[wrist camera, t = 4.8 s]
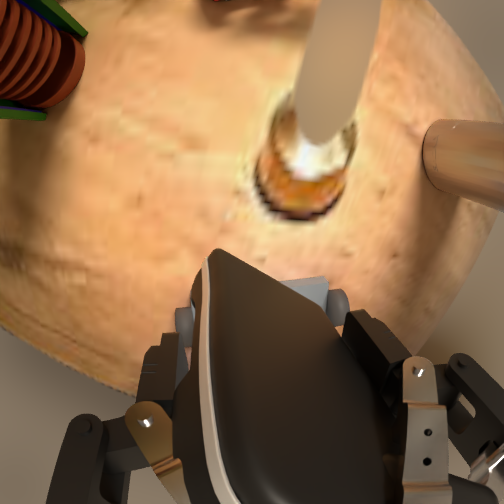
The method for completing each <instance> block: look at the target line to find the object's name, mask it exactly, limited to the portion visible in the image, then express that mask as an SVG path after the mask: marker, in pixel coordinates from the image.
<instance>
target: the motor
mask: <svg viewBox="0 0 504 504" xmlns="http://www.w3.org/2000/svg"><path fill="white" fill-rule="evenodd" d="M67 32H73V33H77V34H79V35H81V36H82V37H84V36H85V35H86V34H87V33H88V32H87V31H86V30H85V29H84V28H83V27H82V26H81V25H80V24H79V23H78V22H77V21H76V20H75V19H74V18H73V17H72V16H71V15H70V14H69V13H68V12H67V11H66V10H65V9H64V8H63V7H61V6H60V5H59V4H58V3H57V2H56V1H55V0H0V119H19V120H35V121H44V120H46V113H42V111H38V110H31V109H26V108H25V107H24V106H27V107H34V108H48V107H51V106H54V105H56V104H58V103H59V102H61V101H62V100H63V99H65V98H66V97H67V96H68V95H69V94H70V93H71V92H72V90H73V89H74V88H75V86H76V85H77V83H78V82H79V80H80V78H81V75H82V73H83V70H84V66H85V52H84V49H83V47H82V45H81V44H80V42H79V41H77V40H76V39H75V38H74V37H72V36H71V35H70V34H69V33H67ZM52 71H53V72H52Z"/></svg>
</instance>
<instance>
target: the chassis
mask: <svg viewBox="0 0 504 504" xmlns="http://www.w3.org/2000/svg"><path fill="white" fill-rule="evenodd" d="M280 283H282V284H284V285H285V286H287V287H289V288H291V289H292V290H294V291H296V292H298V293H299V294H301V295H303V296H304V297H306V298H308V299H310V300H311V301H313V302H315V303H316V304H318V305H319V306H320V307H321V308H322V309H323V311H324V312H325V314H326V315H327V317H328V318H329V320H330V321H331V323H332V324H333V326H334V327H336V326H341V325H344V322H345V316H346V313H347V312H350V307H349V301H348V298H347V296H346V294H345V292H344V291H343V290H342V289H334V290H328V287H329V282H328V281H327V280H326V278H325V277H324V276H320V277H313V278H305V279H297V280H288V281H280ZM190 299H191V294H190ZM191 306H192V307H183V308H176V310H175V325H176V332H181V335H182V339H183V344H184V347H192V339H193V329H194V321H195V308H194V307H193V305H192V302H191Z"/></svg>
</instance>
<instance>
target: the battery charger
mask: <svg viewBox="0 0 504 504" xmlns="http://www.w3.org/2000/svg"><path fill="white" fill-rule="evenodd" d="M191 302H192V305H193V307H194V308H195V321H194V329H193V339H192V352H191V367H190V370H189V371H188V373H187V374H186V375H185V377H184V378H183V379H182V380H181V382H180V383H179V385H178V386H177V388H176V390H175V392H174V395H173V412H172V446H173V458H174V459H176V458H179V459H180V460H181V462H182V467H183V477H184V483H185V486H186V490H187V493H188V496H189V499H190V502H191V504H393V500H394V487H395V484H394V482H393V480H392V478H391V476H390V474H389V472H388V470H387V468H386V467H385V465H384V462H383V455H384V454H386V453H393V454H399V451H400V445H399V444H397V443H395V442H393V441H392V430H391V427H392V426H393V424H394V422H395V420H396V417H395V416H394V414H393V413H392V411H391V410H390V408H389V406H388V405H387V403H386V402H385V400H384V399H383V397H382V396H381V394H380V393H379V391H378V390H377V388H376V387H375V385H374V384H373V382H372V381H371V379H370V378H369V376H368V375H367V373H366V372H365V370H364V369H363V368H362V366H361V365H360V363H359V362H358V360H357V359H356V357H355V356H354V355H353V353H352V352H351V350H350V349H349V348H348V346H347V345H346V343H345V342H344V340H343V339H342V338H341V336H340V335H339V333H338V332H337V330H336V329H335V327H334V326H333V324H332V323H331V321H330V320H329V318H328V317H327V315H326V314H325V312H324V311H323V309H322V308H321V307H320V306H319V305H318V304H316V303H315V302H313V301H311V300H310V299H308V298H306V297H304V296H303V295H301V294H299V293H298V292H296V291H294V290H292V289H291V288H289V287H287V286H285V285H284V284H282V283H280V282H279V281H277V280H275V279H273V278H272V277H270V276H268V275H266V274H265V273H263V272H261V271H259V270H258V269H256V268H254V267H252V266H251V265H249V264H247V263H245V262H244V261H242V260H240V259H238V258H237V257H235V256H233V255H231V254H230V253H228V252H226V251H224V250H222V249H215V250H213V251H212V252H211V254H210V255H209V257H206V258H205V259H204V261H203V262H202V264H201V269H200V271H199V272H198V274H197V275H196V277H195V280H194V283H193V285H192V289H191Z"/></svg>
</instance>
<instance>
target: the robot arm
mask: <svg viewBox="0 0 504 504" xmlns="http://www.w3.org/2000/svg"><path fill="white" fill-rule="evenodd" d="M423 160H424V166H425V170H426V173H427V175H428V177H429V179H430V181H431V182H432V184H433V185H434V186H435V187H436V188H438V189H439V190H442V191H445V192H448V193H451V194H454V195H457V196H460V197H463V198H466V199H469V200H472V201H474V202H477V203H480V204H483V205H486V206H488V207H491V208H494V209H496V210H499V211H501V212H504V124H503V123H494V122H483V121H470V120H453V119H440V120H438V121H436V122H434V123H433V124H432V125H431V126H430V128H429V129H428V131H427V134H426V136H425V140H424V147H423ZM342 339H343V340H344V342H345V343H346V345H347V346H348V348H349V349H350V350H351V352H352V353H353V355H354V356H355V357H356V359H357V360H358V362H359V363H360V365H361V366H362V368H363V369H364V370H365V372H366V373H367V375H368V376H369V378H370V379H371V381H372V382H373V384H374V385H375V387H376V388H377V390H378V391H379V393H380V394H381V396H382V397H383V399H384V400H385V402H386V403H387V405H388V406H389V408H390V410H391V411H392V413H393V414H394V416H395V417H396V420H395V422H394V424H393V426H392V427H391V430H392V441H393V442H395V443H397V444H399V445H400V451H399V454H393V453H386V454H384V455H383V462H384V465H385V467H386V468H387V470H388V472H389V474H390V476H391V478H392V480H393V482H394V484H395V487H394V500H393V504H499V502H500V501H501V500H502V499H503V498H504V389H503V388H502V387H501V386H500V385H499V384H498V383H497V382H496V381H495V380H494V379H493V378H492V377H491V376H490V375H489V374H488V373H487V372H486V371H485V370H484V369H483V368H482V367H481V366H480V365H479V364H478V363H476V361H475V360H474V359H473V358H471V357H470V356H468V355H466V354H463V353H456V354H453V355H452V356H451V357H450V359H449V362H448V364H439V365H433V364H432V363H431V362H430V361H429V360H427V359H425V358H423V357H419V356H412V355H411V354H410V352H409V351H408V350H407V349H406V348H405V347H404V345H403V344H402V343H401V342H400V341H399V340H398V338H397V337H395V335H394V334H393V333H392V332H390V329H389V328H388V327H387V326H386V325H385V324H384V323H383V322H381V321H379V320H378V319H376V318H371V316H370V315H369V314H368V313H367V312H366V311H365V310H364V309H361V310H355V311H350V312H347V313H346V316H345V322H344V327H343V333H342ZM187 373H188V362H187V357H186V353H185V348H184V344H183V339H182V335H181V332H173V333H163V334H162V338H161V344H160V346H151V347H150V348H149V350H148V351H147V352H146V353H145V356H144V360H143V366H142V370H141V375H140V381H139V386H138V392H137V397H136V402H135V404H134V405H132V406H131V407H130V408H129V409H128V410H127V412H126V414H125V415H124V416H122V417H120V418H116V419H111V420H107V421H101V420H100V419H99V418H98V417H97V416H95V415H93V414H81V415H79V416H76V417H75V418H74V419H72V420H71V422H70V423H69V425H68V428H67V431H66V434H65V437H64V440H63V443H62V446H61V449H60V452H59V456H58V459H57V462H56V466H55V469H54V473H53V476H52V480H51V484H50V488H49V492H48V496H47V500H46V504H127V500H128V491H129V482H130V474H131V471H132V470H137V469H141V468H145V467H150V466H151V467H152V468H153V471H154V473H155V474H156V476H157V477H158V479H159V480H160V481H161V483H162V484H163V486H164V487H165V488H166V490H167V491H168V492H169V494H170V495H171V496H172V498H173V499H174V500H175V502H176V503H177V504H191V502H190V499H189V496H188V493H187V490H186V486H185V483H184V477H183V467H182V462H181V460H180V459H179V458H176V459H174V458H173V446H172V412H173V395H174V392H175V390H176V388H177V386H178V385H179V383H180V382H181V380H182V379H183V378H184V377H185V375H186V374H187ZM462 394H463V395H464V396H465V398H466V399H467V400H468V401H469V402H470V403H471V404H472V405H473V407H474V408H475V411H476V415H475V417H474V418H473V417H472V415H471V414H470V413H469V412H468V411H467V410H466V408H465V407H464V406H463V405H462V404H461V403H460V401H459V398H460V396H461V395H462ZM448 438H449V439H450V440H451V442H452V443H453V445H454V446H455V447H456V449H457V450H458V451H459V453H460V454H461V455H462V457H463V458H464V460H465V461H466V462H467V464H468V465H469V466H470V474H469V476H468V480H467V479H464V478H461V477H458V476H455V475H452V474H449V473H448V466H449V465H448V463H449V455H448V454H449V453H448Z"/></svg>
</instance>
